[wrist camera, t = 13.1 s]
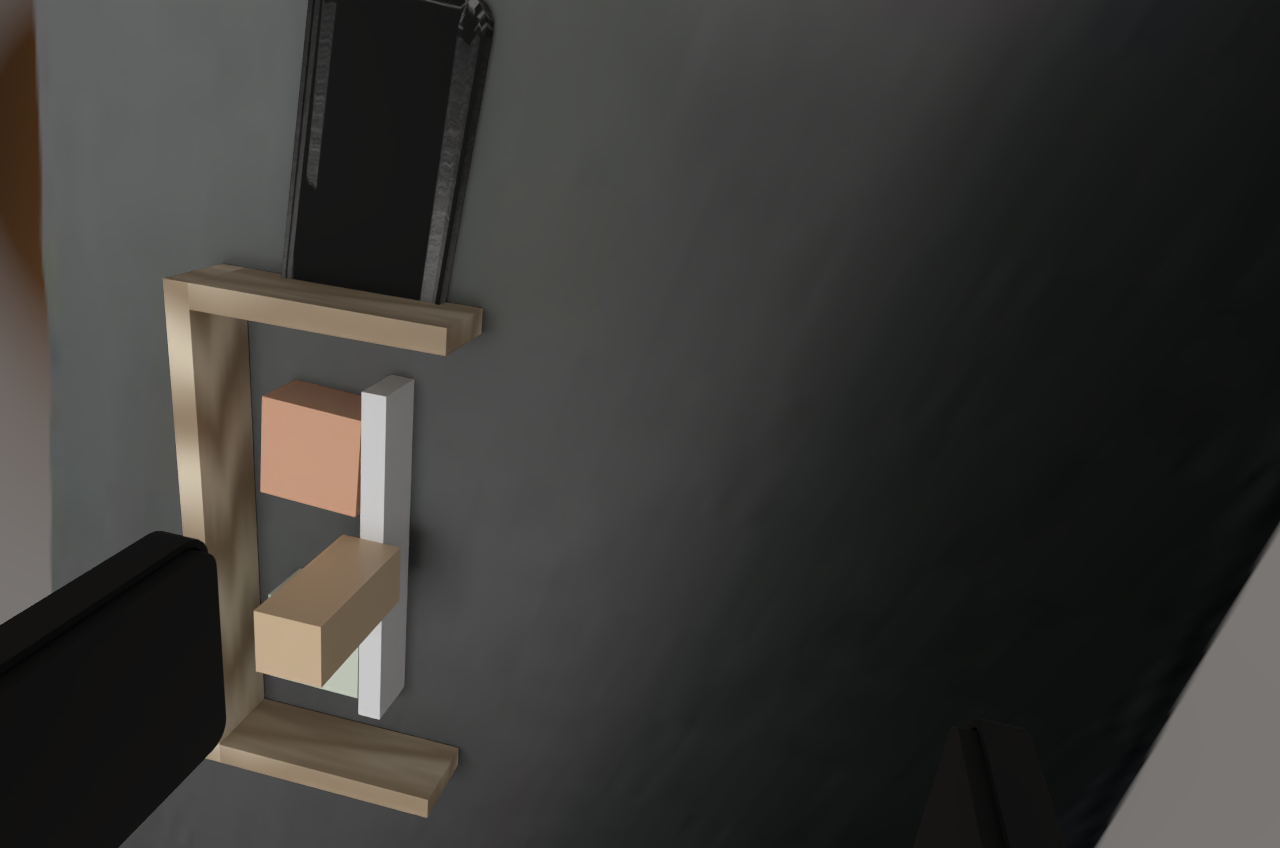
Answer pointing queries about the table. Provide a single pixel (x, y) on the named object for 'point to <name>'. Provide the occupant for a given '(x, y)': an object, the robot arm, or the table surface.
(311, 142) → the phone
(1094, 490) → the table surface
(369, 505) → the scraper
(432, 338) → the box
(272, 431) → the terracotta tile
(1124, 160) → the table surface
